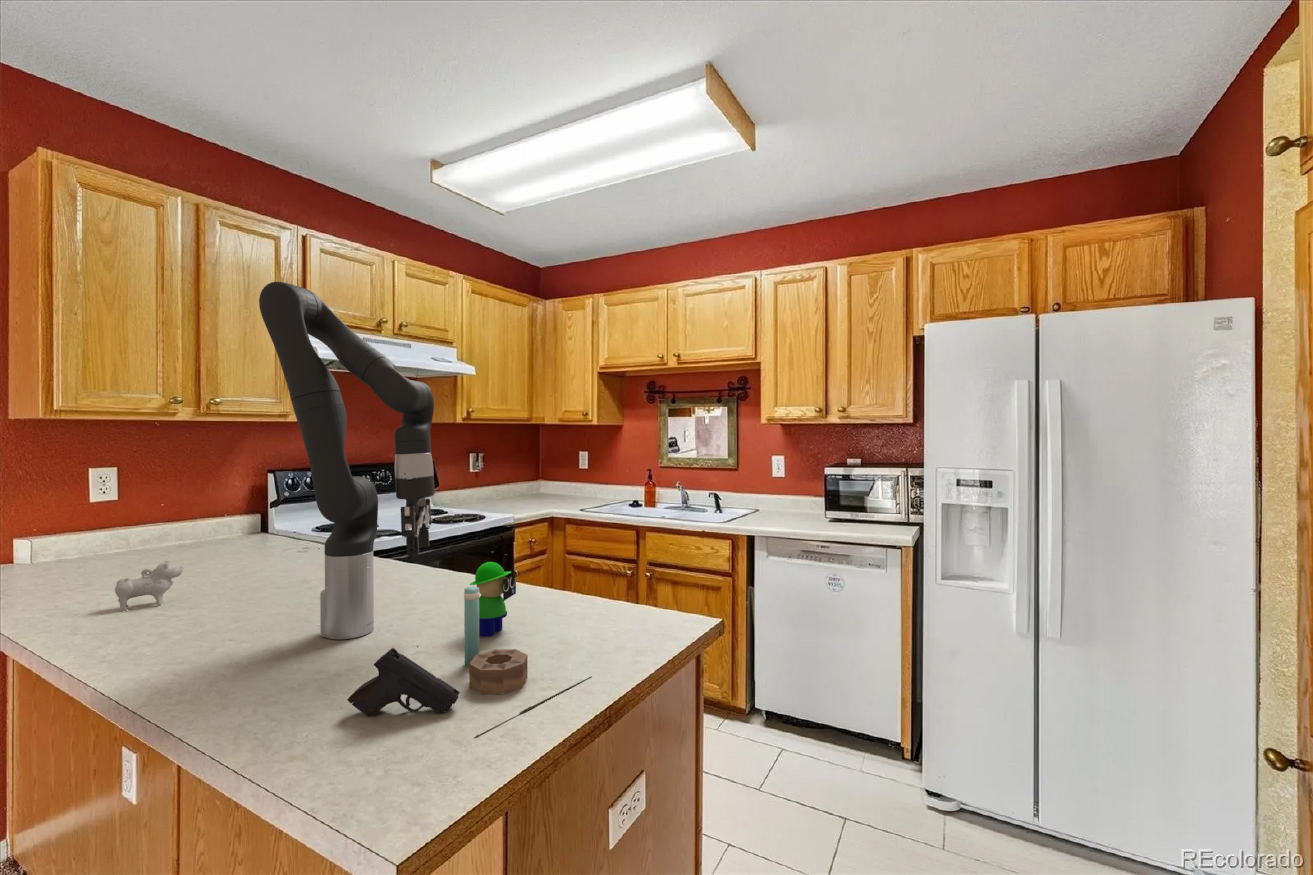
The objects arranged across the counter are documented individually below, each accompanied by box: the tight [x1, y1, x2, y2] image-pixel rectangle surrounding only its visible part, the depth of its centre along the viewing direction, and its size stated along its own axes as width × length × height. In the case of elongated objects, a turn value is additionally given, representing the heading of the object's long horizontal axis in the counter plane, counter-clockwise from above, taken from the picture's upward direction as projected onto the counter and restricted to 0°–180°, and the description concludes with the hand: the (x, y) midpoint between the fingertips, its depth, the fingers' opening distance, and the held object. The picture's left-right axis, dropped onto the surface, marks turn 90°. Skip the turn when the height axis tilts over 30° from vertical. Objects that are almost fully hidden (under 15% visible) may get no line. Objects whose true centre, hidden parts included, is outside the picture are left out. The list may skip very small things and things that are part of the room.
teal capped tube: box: [463, 586, 480, 667], centre depth 107 cm, size 3×3×14 cm
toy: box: [469, 561, 517, 638], centre depth 124 cm, size 9×9×15 cm
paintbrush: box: [473, 676, 593, 738], centre depth 91 cm, size 1×25×1 cm, turn 145°
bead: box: [468, 648, 528, 695], centre depth 99 cm, size 9×9×4 cm
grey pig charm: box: [114, 559, 184, 613], centre depth 142 cm, size 5×13×11 cm, turn 131°
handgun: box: [347, 647, 461, 718], centre depth 89 cm, size 3×14×10 cm
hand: (418, 551), depth 122 cm, fingers open, 8 cm apart
